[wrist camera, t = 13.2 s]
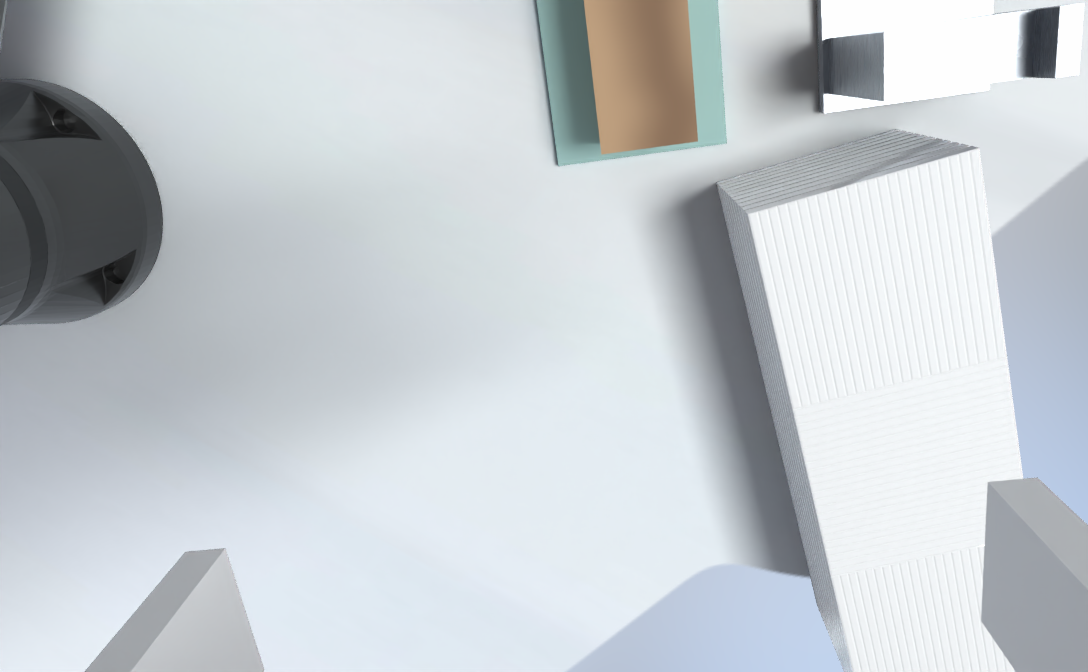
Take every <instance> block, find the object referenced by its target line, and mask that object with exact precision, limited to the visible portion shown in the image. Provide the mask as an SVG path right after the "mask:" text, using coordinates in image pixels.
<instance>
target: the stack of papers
mask: <svg viewBox="0 0 1088 672" xmlns="http://www.w3.org/2000/svg"><path fill="white" fill-rule="evenodd" d="M716 183H717V188H718V192H719V196H720V200H721V204H722V208H723V213H724V217H725V221H726V225H727V229H728V234H729V238H730V242H731V246H732V250H733V255H734V259H735V263H736V267H737V271H738V275H739V280H740V284H741V288H742V292H743V296H744V301H745V305H746V309H747V313H748V317H749V321H750V326H751V330H752V334H753V338H754V342H755V347H756V351H757V355H758V359H759V363H760V367H761V372H762V376H763V380H764V384H765V388H766V393H767V397H768V401H769V405H770V409H771V413H772V418H773V422H774V426H775V430H776V434H777V439H778V443H779V447H780V451H781V455H782V460H783V464H784V468H785V472H786V476H787V480H788V485H789V489H790V493H791V497H792V501H793V506H794V510H795V514H796V518H797V522H798V526H799V531H800V535H801V539H802V543H803V547H804V552H805V556H806V560H807V564H808V568H809V572H810V577H811V582H812V586H813V590H814V594H815V599H816V603H817V606H818V608H819V611H820V612H821V616H822V618H823V621H824V623H825V626H826V628H827V630H828V633H829V635H830V638H831V640H832V643H833V645H834V648H835V650H836V652H837V655H838V658H839V660H840V662H841V665H842V667H843V670H844V672H1016V671H1015V670H1014V668H1013V667H1012V665H1011V664H1010V663H1009V661H1008V660H1007V658H1006V657H1005V655H1004V654H1003V652H1002V651H1001V649H1000V648H999V647H998V645H997V644H996V642H995V641H994V639H993V638H992V636H991V635H990V633H989V632H988V630H987V629H986V628H985V626H984V625H983V623H982V622H981V610H982V589H983V568H984V547H985V526H986V505H987V484H988V482H992V481H1004V480H1015V479H1023V474H1022V467H1021V459H1020V451H1019V443H1018V436H1017V429H1016V421H1015V414H1014V406H1013V398H1012V391H1011V383H1010V376H1009V369H1008V361H1007V353H1006V345H1005V338H1004V330H1003V323H1002V315H1001V308H1000V301H999V293H998V285H997V278H996V270H995V262H994V255H993V248H992V240H991V232H990V225H989V217H988V210H987V202H986V195H985V187H984V179H983V172H982V164H981V157H980V149H979V148H978V147H974V146H969V145H965V144H959V143H956V142H951V141H947V140H942V139H938V138H936V139H935V138H933V137H927V136H924V135H920V134H913V133H911V132H906V131H901V130H897V129H896V130H892V131H889V132H885V133H882V134H879V135H875V136H872V137H869V138H865V139H862V140H858V141H855V142H852V143H848V144H845V145H841V146H838V147H835V148H831V149H828V150H824V151H821V152H818V153H814V154H811V155H808V156H804V157H801V158H797V159H794V160H791V161H787V162H784V163H780V164H777V165H774V166H770V167H767V168H763V169H760V170H757V171H753V172H750V173H746V174H743V175H740V176H736V177H733V178H730V179H726V180H723V181H719V182H716Z"/></svg>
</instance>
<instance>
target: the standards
mask: <svg viewBox="0 0 1088 672" xmlns="http://www.w3.org/2000/svg"><path fill="white" fill-rule="evenodd" d="M1084 4H1085V3H1079V4H1070V5H1062V6H1054V7H1046V8H1038V9H1029V10H1021V11H1013V12H1005V13H997V14H993V0H817V32H818V72H819V112H822V113H828V112H836V111H843V110H850V109H857V108H865V107H872V106H879V105H886V104H894V103H901V102H908V101H915V100H923V99H930V98H937V97H945V96H952V95H959V94H966V93H974V92H981V91H988V90H989V89H990V83H995V82H1002V81H1009V80H1017V79H1024V78H1031V77H1035V78H1061V77H1068V76H1075V75H1079V68H1080V55H1081V42H1082V29H1083V16H1084Z"/></svg>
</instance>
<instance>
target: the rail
mask: <svg viewBox="0 0 1088 672" xmlns="http://www.w3.org/2000/svg"><path fill="white" fill-rule="evenodd" d="M584 7H585V16H586V25H587V33H588V42H589V51H590V59H591V68H592V77H593V86H594V94H595V103H596V112H597V121H598V129H599V138H600V147H601V155H602V154H610V153H617V152H624V151H632V150H639V149H646V148H654V147H661V146H668V145H676V144H683V143H690V142H698V133H697V119H696V106H695V93H694V79H693V66H692V52H691V39H690V26H689V12H688V0H584Z"/></svg>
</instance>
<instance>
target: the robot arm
mask: <svg viewBox="0 0 1088 672" xmlns="http://www.w3.org/2000/svg"><path fill="white" fill-rule="evenodd" d="M7 3H8V0H0V51H1V44H2V37H3V31H4V24H5V17H6V10H7ZM161 238H162V209H161V202H160V197H159V193H158V189H157V186H156V183H155V180H154V177H153V175H152V172H151V170H150V168H149V166H148V164H147V162H146V160H145V158H144V156H143V154H142V153H141V151H140V150H139V148H138V147H137V145H136V144H135V142H134V141H133V140H132V138H131V137H130V136H129V134H128V133H127V132H126V131H125V130H124V129H123V128H122V126H121V125H120V124H119V123H118V122H117V121H116V120H115V119H113V118H112V117H111V116H110V115H109V114H108V113H107V112H105V111H104V110H103V109H102V108H100V107H99V106H98V105H96V104H95V103H93V102H92V101H90V100H89V99H87V98H85V97H83V96H82V95H80V94H78V93H76V92H74V91H71V90H69V89H67V88H64V87H61V86H59V85H55V84H52V83H48V82H43V81H37V80H28V79H13V80H0V326H1V325H11V324H55V323H66V322H73V321H77V320H81V319H85V318H88V317H91V316H93V315H96V314H98V313H100V312H102V311H104V310H106V309H108V308H110V307H112V306H114V305H116V304H118V303H120V302H121V301H123V300H124V299H126V298H127V297H129V296H130V295H131V294H132V293H134V292H135V291H136V290H137V289H138V288H139V287H140V285H141V284H142V283H143V282H144V281H145V279H146V278H147V276H148V275H149V273H150V271H151V270H152V268H153V265H154V263H155V261H156V258H157V256H158V252H159V248H160V244H161ZM981 622H982V623H983V625H984V626H985V628H986V629H987V630H988V632H989V633H990V635H991V636H992V638H993V639H994V641H995V642H996V644H997V645H998V647H999V648H1000V649H1001V651H1002V652H1003V654H1004V655H1005V657H1006V658H1007V660H1008V661H1009V663H1010V664H1011V665H1012V667H1013V668H1014V670H1015V671H1016V672H1088V525H1087V524H1086V523H1085V522H1084V521H1083V520H1082V519H1081V518H1080V517H1078V516H1077V515H1076V514H1075V513H1074V512H1073V511H1072V510H1071V509H1070V508H1069V507H1068V506H1067V505H1066V504H1065V503H1064V502H1063V501H1062V500H1061V499H1059V497H1057V496H1056V495H1055V494H1054V493H1053V492H1052V491H1051V490H1050V489H1049V488H1048V487H1047V486H1046V485H1045V484H1044V483H1043V482H1042V481H1041V480H1039V479H1038V478H1027V479H1015V480H1004V481H992V482H988V484H987V505H986V526H985V547H984V568H983V589H982V610H981ZM85 672H264V667H263V664H262V661H261V658H260V655H259V652H258V649H257V646H256V642H255V639H254V636H253V633H252V630H251V627H250V624H249V621H248V617H247V614H246V611H245V608H244V605H243V602H242V599H241V596H240V593H239V589H238V586H237V583H236V580H235V577H234V574H233V571H232V568H231V564H230V561H229V558H228V555H227V552H226V549H225V548H223V549H212V550H200V551H189V552H185V553H184V554H183V555H182V557H181V558H180V559H179V560H178V561H177V563H176V564H175V565H174V566H173V567H172V568H171V570H170V571H169V572H168V573H167V574H166V576H165V577H164V578H163V579H162V580H161V582H160V583H159V584H158V585H157V586H156V587H155V589H154V590H153V591H152V592H151V593H150V595H149V596H148V597H147V598H146V599H145V601H144V602H143V603H142V604H141V605H140V606H139V608H138V609H137V610H136V611H135V612H134V614H133V615H132V616H131V617H130V618H129V620H128V621H127V622H126V623H125V624H124V625H123V627H122V628H121V629H120V630H119V631H118V633H117V634H116V635H115V636H114V637H113V639H112V640H111V641H110V642H109V643H108V644H107V646H106V647H105V648H104V649H103V650H102V652H101V653H100V654H99V655H98V656H97V658H96V659H95V660H94V661H93V662H92V663H91V665H90V666H89V667H88V668H87V669H86V671H85Z"/></svg>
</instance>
